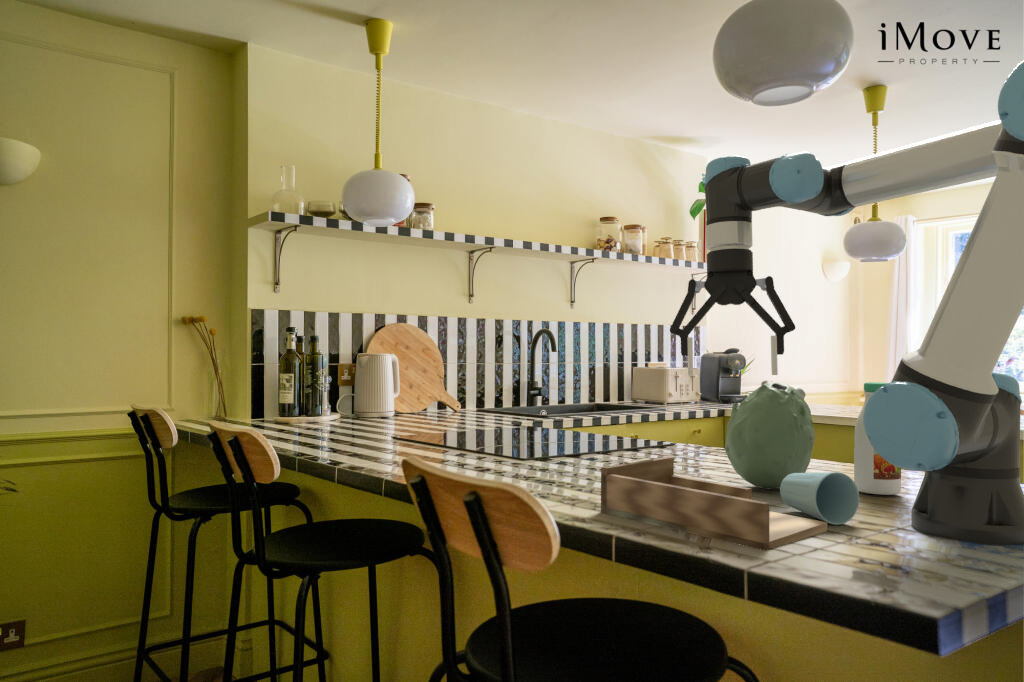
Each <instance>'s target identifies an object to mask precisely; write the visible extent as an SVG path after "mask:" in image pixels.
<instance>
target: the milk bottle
mask: <svg viewBox="0 0 1024 682" xmlns="http://www.w3.org/2000/svg"><path fill="white" fill-rule="evenodd" d="M888 383H889V382H880V381H879V382H877V381H876V382H875V381H872V382H871V381H869V382H867V381H866V382H864V383H863V391H864V392H863V394H864V397H865V398H864V402H863V406H862V408H861V410H860V412H859V413H858V416H857V418H856V421H855V426H854V440H853V441H854V444H853V445H854V446H853V449H854V450H853V451H854V452H853V453H854V454H853V457H854V458H853V459H854V460H853V462H854V463H853V481H854V483H855V484H856V486H857V489H858V492H861V493H865V494H872V495H881V496H882V495H883V496H884V495H887V496H890V495H892V496H893V495H898V494H900V493H901V492H902V491H901V490H902V468H899V467H897V466H895V465H893V464H891V463H889V462H887V461H886V460H885V459H883V458H882V457H881V456H880V455H879V454H878V453H877V452H876V451H875V450H874V448H873V447H872V445H871V444H870V441H869V438H868V436H867V435H866V432H865V429H864V422H863V416H864V409H865V406H866V404H867V401H868V400H869V398H870V397H871V395H872V394H873V393H874V392H875V391H876V390H878V389H879V388H880V387H882V386H884V385H886V384H888Z"/></svg>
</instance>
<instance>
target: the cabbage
mask: <svg viewBox="0 0 1024 682" xmlns="http://www.w3.org/2000/svg"><path fill="white" fill-rule="evenodd" d="M760 383H761V384H760V386H759V387H757V388H756V389H755V390H753V391H752V392H751V393H749V394H744V399H743V400H741V401H740V404H739V405H738V404H737V402H736V401H734V402H733V403H734V404H732V407H731V412H730V418H729V420H728V422H727V426H726V436H725V446H724V450H725V454H726V456H727V459H728V460H729V462H730V465H731V467H732V468H733V470H734V471H735V472H736V474H738V475H739V476H740V477H741V478H742V479H743V480H744V481H746V482H747V483H749V484H751V485H753V486H755V487H758V488H761V489H764V490H771V489H780V486H781V483H782V481H783V479H784V478H785V477H786V476H787V475H789V474H793V473H807V472H806V471H807V469H808V468H809V465H810V462H811V458H812V454H813V453H812V452H813V448H814V445H815V439H816V432H815V429H814V425H813V417H812V411H811V409H810V407H809V405H808V403H807V402H806V400H805V397H806V392H805V391H804V389H802V388H800V387H798V386H796V387H792V386H791V385H789V384H782V383H780V382H774V381H772V380H769V379H767V380H763V381H762V382H760Z"/></svg>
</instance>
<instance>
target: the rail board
mask: <svg viewBox="0 0 1024 682" xmlns="http://www.w3.org/2000/svg"><path fill="white" fill-rule="evenodd" d="M674 465H675V464H674V457H673V456H664V457H657V458H650V457H646V458H641V459H639V458H638V459H634V460H627V461H624V462H623V463H619V464H614V465H606V466H601V467H600V513H603V514H607V515H611V516H615V517H618V518H619V517H620V518H625V519H628V520H633V521H636V522H641V523H645V524H649V525H654V526H658V527H663V528H666V529H671V530H674V531H680V532H684V533H687V534H692V535H697V536H701V537H706V538H709V539H713V538H714V540H717V539H718V540H717V541H721V540H722V542H726V541H727V542H726V543H730V542H731V543H730V544H734V543H736V544H735V545H739V544H740V546H743V545H744V547H747V546H748V547H747V548H751V547H752V548H751V549H757V550H760V549H761V550H760V551H764V550H765V551H767V549H768V550H771V549H774V548H777V546H778V547H780V545H781V546H784V545H787V544H790V542H791V543H794V542H796V541H800V540H802V539H806V538H810V537H813V536H816V535H820V534H823V533H826V532H828V522H825V521H823V520H816V519H812V518H805V517H803V516H802V517H801V516H797V515H791V514H787V513H786V514H785V513H780V512H775V511H772V510H770V505H771V504H770V502H766V501H761V500H756V499H753V494H752V493H753V492H752V491H753V488H751V487H746V486H738V485H734V484H728V483H721V482H715V481H710V480H705V479H700V478H692V477H686V476H682V475H677V474H676V475H675V474H674V469H675V468H674ZM786 543H787V544H786ZM773 547H774V548H773ZM770 548H771V549H770Z"/></svg>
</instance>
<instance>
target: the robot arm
mask: <svg viewBox="0 0 1024 682" xmlns="http://www.w3.org/2000/svg"><path fill="white" fill-rule="evenodd" d="M997 112H998V113H997V114H998V117H999V120H995V121H991V122H988V123H984V124H981V125H977V126H972V127H969V128H966V129H963V130H959V131H955V132H951V133H948V134H944V135H940V136H937V137H933V138H929V139H926V140H923V141H919V142H916V143H911V144H909V145H908V144H907V145H905V146H901V147H897V148H894V149H893V148H892V149H890V150H887V151H882V152H879V153H876V154H872V155H869V156H865V157H862V158H857V159H854V160H851V161H848V162H845V163H840V164H836V165H833V166H828V167H824V166H823V165H822V163H821V162H820V160H819V159H818V158H816V156H815V155H814V154H813V153H812V152H808V151H801V152H796V153H786V154H785V155H784V154H783V155H781V156H779V157H775V158H771V159H768V160H764V161H760V162H758V163H754V164H751V161H750V159H749V158H748V157H746V156H741V155H729V156H723V157H717V158H714V159H712V160H710V161H709V162H708V163H707V165H706V167H705V177H704V178H705V180H704V182H705V183H704V186H703V187H704V195H705V197H704V199H705V212H706V215H705V216H706V220H705V221H706V222H705V224H706V225H705V239H706V241H705V243H706V249H707V250H708V251H709V252H707V253H706V279H705V281H703V280H702V281H701V280H695V279H690V280H688V283H687V284H688V286H687V292H686V295H685V297H684V299H683V300H682V303H681V305H680V307H679V309H678V311H677V313H676V315H675V318H674V320H673V321H672V324H671V326H670V328H669V332H670V333H671V334H672V335H676V336H677V337H679V338H680V354H681V356H683V357H687V375H688V377H689V376H690V377H691V376H692V377H693V376H694V351H693V350H694V347H693V344H694V343H693V337H692V336H691V337H690V334H691V333H692V331H693V330H694V329H695V328H696V327H697V325H698V324H699V323H700V322H701V321H702V320H703V318H704V317H705V316H706V314H708V312H709V311H710V310H711V309H712V308H713V307H714V305H715V304H718V305H719V306H727V305H734V306H740V305H743V304H744V303H746V304H747V305H748V306H749V307H750V308H751V309H752V310H753V312H755V314H756V315H757V316H759V318H760V319H761V320H762V321H763V322H764V323H765V324H766V325H767V326H768V327H769V329H771V330H772V332H773V333H774V334H775V335H770V351H771V352H770V356H771V358H770V361H771V362H770V363H771V376H778V373H779V372H778V355H781V356H782V355H784V353H785V335H786V334H787V333H791V332H793V331H795V330H796V324H795V323H794V322H793V320H792V317H791V316H790V315H789V313H788V311H787V309H786V307H785V306H784V303H783V302H782V300H781V298H780V296H779V295H778V292H777V290H776V289H775V285H774V278H773V277H772V276H771V275H768V276H766V277H763V278H757V279H756V278H755V276H754V259H753V257H754V256H753V254H754V253H753V251H752V250H751V249H750V248H752V247H753V221H752V220H753V212H756V211H761V210H764V209H765V210H767V209H771V208H775V207H776V208H777V207H779V208H780V207H781V208H787V209H790V210H791V209H792V210H798V211H803V212H808V213H813V214H818V215H820V216H823V217H840V216H844V215H847V214H849V213H850V212H852V211H853V210H854V209H855V208H857V207H862V206H866V205H872V204H877V203H881V202H885V201H890V200H894V199H899V198H903V197H907V196H912V195H913V196H914V195H916V194H921V193H926V192H930V191H935V190H941V189H944V188H948V187H949V188H950V187H953V186H958V185H962V184H963V185H964V184H966V183H971V182H976V181H981V180H985V179H989V178H995V179H994V181H993V182H992V185H991V188H990V189H989V192H988V194H987V197H986V199H985V201H984V204H983V205H982V208H981V210H980V212H979V214H978V217H977V219H976V221H975V224H974V225H973V228H972V230H971V232H970V235H969V237H968V240H967V242H966V243H965V246H964V248H963V250H962V252H961V255H960V257H959V259H958V262H957V264H956V265H955V268H954V271H953V273H952V275H951V277H950V280H949V282H948V284H947V287H946V289H945V290H944V293H943V295H942V298H941V300H940V302H939V304H938V307H937V309H936V312H935V313H934V316H933V318H932V319H931V323H930V325H929V327H928V329H927V332H926V334H925V336H924V337H923V340H922V343H921V344H920V347H919V348H918V349H916V350H915V351H912V352H909V353H907V354H905V355H902V357H901V359H900V361H899V363H898V366H897V368H896V371H895V373H894V375H893V377H892V379H891V381H890V382H887V383H888V384H886V385H884V386H882V387H880V388H879V389H878V390H876V391H875V392H874V393H873V394H872V395H871V397H870V398H869V400H868V401H867V404H866V406H865V409H864V416H863V422H864V429H865V432H866V435H867V436H868V438H869V441H870V444H871V445H872V447H873V448H874V450H875V451H876V452H877V453H878V454H879V455H880V456H881V457H882V458H883V459H885V460H886V461H887V462H889V463H891V464H893V465H895V466H897V467H899V468H901V470H902V469H904V470H908V471H919V472H920V471H921V472H924V476H923V478H922V481H921V484H920V488H919V489H918V492H917V495H916V497H915V500H914V503H913V505H912V509H911V515H910V516H911V518H910V520H911V521H910V522H911V523H910V524H911V526H912V527H913V528H914V529H915V530H917V531H920V532H922V533H925V534H927V535H931V536H935V537H939V538H943V539H948V540H952V541H957V542H958V541H959V542H965V543H973V544H982V545H992V544H993V545H995V546H997V545H998V546H1017V545H1019V546H1020V545H1024V491H1023V488H1022V486H1021V481H1020V477H1021V476H1020V475H1021V474H1020V473H1021V472H1020V469H1021V467H1020V466H1021V464H1020V463H1021V461H1020V460H1021V456H1020V455H1021V405H1022V402H1023V401H1022V396H1021V394H1020V393H1021V391H1020V383H1019V382H1018V380H1017V379H1016V378H1015V377H1013V376H1012V375H1008V374H1004V373H999V372H998V373H997V372H993V371H994V369H995V367H996V366H997V363H998V361H999V359H1000V358H1001V355H1002V352H1003V350H1004V349H1005V346H1006V344H1007V343H1008V340H1009V338H1010V336H1011V333H1012V332H1013V330H1014V328H1015V326H1016V323H1017V322H1018V320H1019V317H1020V315H1021V313H1022V311H1023V309H1024V59H1023V60H1022V61H1020V63H1018V64H1017V65H1016V67H1014V68H1013V70H1012V71H1011V72H1010V74H1009V75H1008V76H1007V78H1006V79H1005V81H1004V82H1003V84H1002V86H1001V90H1000V91H999V95H998V100H997ZM756 286H757V287H759V288H760V290H761V291H764V292H766V295H767V297H768V299H769V301H770V302H771V304H772V306H773V308H774V309H775V311H776V313H777V314H778V316H779V319H780V320H781V322H782V323H783V326H781V325H780V324H779V323H778V322H777V321H776V320H775V319H774V317H772V316H771V315H770V314H769V313H768V312H767V310H766V309H765V308H764V307H763V306H762V305H761V303H759V302H758V301H757V299H756V298H755V297H754V296H753V295H752V294H751V293H752V292H753V291H754V289H755V288H756ZM703 288H704V290H705V291H706V292H707V293H708V294H709V297H708V299H706V301H705V302H704V304H703V305H702V306H701V307H700V308H699V310H698V311H697V312H696V313H694V316H693V317H692V318H691V319H690V320H689V321H688V322H687V324H686V325H685V326H684V327H683V328H680V327H681V325H682V323H683V321H684V319H685V318H686V315H687V314H688V311H689V309H690V307H691V305H692V303H693V302H694V301H693V300H694V298H695V296H696V294H699V293H700V292H701V290H702V289H703Z"/></svg>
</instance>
